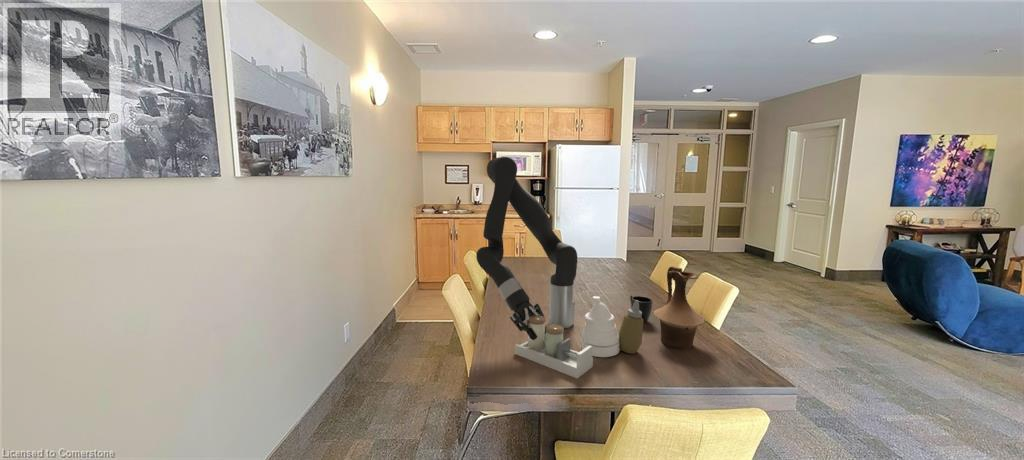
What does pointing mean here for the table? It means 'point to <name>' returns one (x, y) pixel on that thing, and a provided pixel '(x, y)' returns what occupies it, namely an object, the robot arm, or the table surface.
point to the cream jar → (537, 332)
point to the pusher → (564, 350)
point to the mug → (643, 306)
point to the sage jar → (553, 339)
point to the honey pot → (600, 331)
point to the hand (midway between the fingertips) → (540, 335)
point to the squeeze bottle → (631, 330)
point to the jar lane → (568, 366)
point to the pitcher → (678, 313)
